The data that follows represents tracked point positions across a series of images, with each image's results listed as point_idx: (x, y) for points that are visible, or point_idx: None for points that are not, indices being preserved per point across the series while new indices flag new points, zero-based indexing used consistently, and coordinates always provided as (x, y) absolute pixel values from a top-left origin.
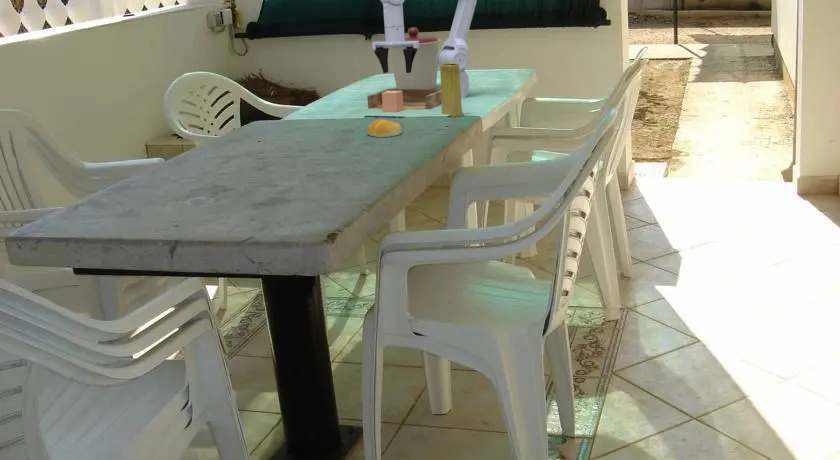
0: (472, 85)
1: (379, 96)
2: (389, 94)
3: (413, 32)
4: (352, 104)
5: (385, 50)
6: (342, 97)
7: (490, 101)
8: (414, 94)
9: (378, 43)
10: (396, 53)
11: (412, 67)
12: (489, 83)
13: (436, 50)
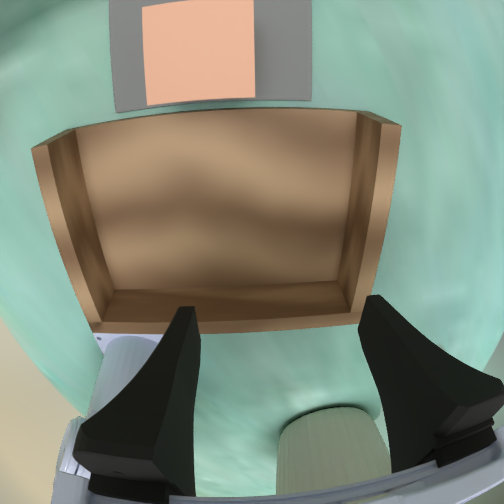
0: (221, 459)
1: (363, 211)
2: (192, 2)
3: None
4: (460, 249)
5: (412, 453)
6: (484, 332)
7: (32, 332)
8: (228, 305)
9: (491, 477)
10: None
11: (327, 463)
12: (200, 467)
13: None
